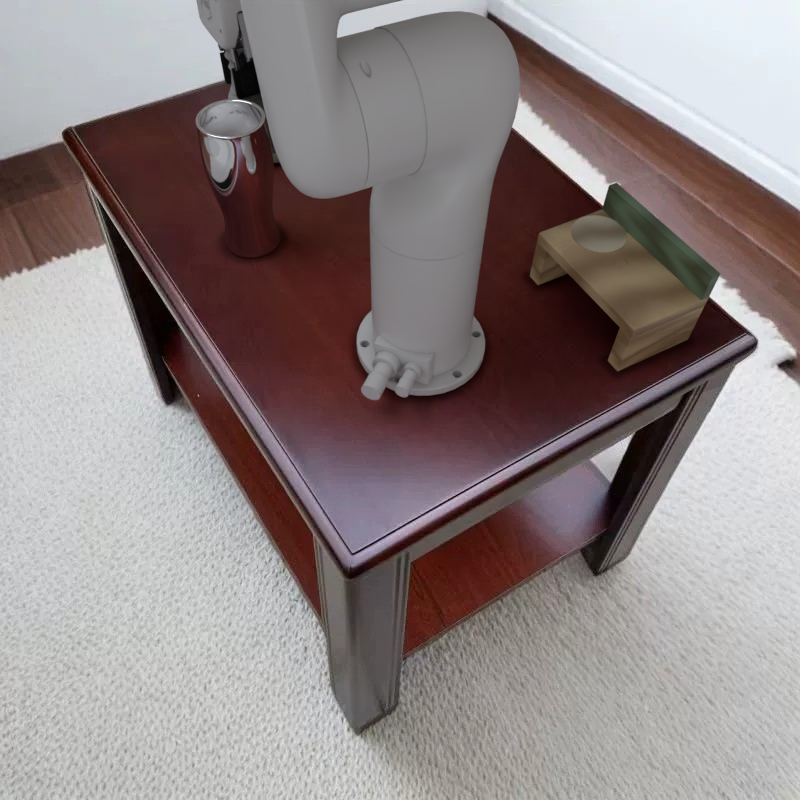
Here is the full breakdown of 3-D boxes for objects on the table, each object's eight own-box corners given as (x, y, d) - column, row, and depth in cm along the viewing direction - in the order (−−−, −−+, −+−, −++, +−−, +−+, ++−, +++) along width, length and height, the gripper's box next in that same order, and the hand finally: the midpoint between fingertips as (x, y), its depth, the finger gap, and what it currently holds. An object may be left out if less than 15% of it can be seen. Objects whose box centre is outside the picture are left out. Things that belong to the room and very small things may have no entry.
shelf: (688, 339, 73) (720, 273, 66) (617, 372, 71) (643, 306, 64) (596, 250, 81) (616, 182, 74) (529, 276, 79) (543, 208, 71)
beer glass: (297, 239, 82) (282, 116, 70) (249, 270, 78) (225, 148, 66) (256, 211, 84) (234, 89, 72) (208, 240, 81) (178, 118, 69)
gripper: (160, -90, 83) (194, 66, 98) (208, -35, 75) (238, 128, 89) (222, -101, 86) (247, 53, 100) (277, -49, 77) (295, 112, 91)
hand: (243, 87), depth 95 cm, fingers closed on rook chess piece, 3 cm apart
